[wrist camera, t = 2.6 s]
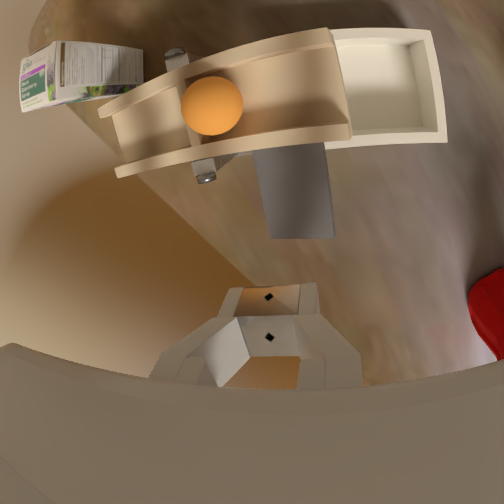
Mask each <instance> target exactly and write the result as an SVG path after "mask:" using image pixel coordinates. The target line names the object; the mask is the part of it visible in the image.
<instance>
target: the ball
mask: <svg viewBox="0 0 504 504" xmlns="http://www.w3.org/2000/svg"><path fill="white" fill-rule="evenodd" d="M242 111H243V98H242V95H241V93H240V91H239V90H238V88H237V87H236V86H235V85H234V84H233V83H232V82H230V81H229V80H227V79H224V78H221V77H214V76H212V77H205V78H202V79H199V80H197V81H195V82H194V83H193V84H191V85H190V86H189V87H188V88H187V90H186V91H185V93H184V95H183V97H182V100H181V114H182V117H183V119H184V121H185V123H186V124H187V125H188V126H189V127H190V128H191V129H192V130H194V131H196V132H198V133H200V134H203V135H218V134H222V133H224V132H226V131H228V130H230V129H231V128H232V127H234V126H235V124H236V123H237V122H238V121H239V119H240V117H241V115H242Z"/></svg>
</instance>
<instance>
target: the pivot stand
mask: <svg viewBox="0 0 504 504" xmlns="http://www.w3.org/2000/svg"><path fill="white" fill-rule="evenodd" d="M164 54H165V58H166V61H165V64H166V68H167V72H170V71H172V70H175V69H177V68H179V67H182V66H184V65H187V64H189V63H192V62H195V61H197V60H200V59H202V58H203V57H200V56H197V55H193V54H190V53H185V50H184V47H177V48H172V49H170V50H167V51H166V52H165V53H164ZM249 154H252V150H251V151H244V152H238V153H231V154H225V155H220V156H214V157H209V158H203V159H198V160H194V161H193V162H191V165H192V168H193V172H194V175H195V176H196V178H197V181H198V184H203V183H208V182H211V181H213V180H215V179H216V174H215V172H217V171H218V170H219V169H220V168H221V167H223V166H224V165H225V164H226V163H228V162H229V161H230V160H231V159H232V158H234V157H238V156H243V155H249Z"/></svg>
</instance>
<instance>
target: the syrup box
mask: <svg viewBox="0 0 504 504" xmlns="http://www.w3.org/2000/svg"><path fill="white" fill-rule="evenodd" d="M142 84H144V79H143V50H142V49H137V48H131V47H125V46H118V45H111V44H102V43H93V42H82V41H63V40H57V41H54V42H53V43H51V44H49V45H46V46H44V47H42V48H40V49H38V50H36V51H34V52H33V53H31V54H29V55H28V56H26V57H24V58H23V59H22V61H21V68H20V80H19V92H20V104H21V109H22V112H27V111H31V110H36V109H40V108H45V107H50V106H56V105H62V104H68V103H75V102H82V101H88V100H96V99H102V98H110V97H116V96H121V95H123V94H125V93H126V92H128V91H130V90H132V89H134V88H136V87H138V86H140V85H142Z"/></svg>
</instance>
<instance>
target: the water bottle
mask: <svg viewBox="0 0 504 504" xmlns="http://www.w3.org/2000/svg"><path fill="white" fill-rule="evenodd" d="M468 306H469V312H470V317H471V320H472V323H473V325H474V327H475V329H476V331H477V333H478V335H479V336H480V337H481V338H482V340H483V341H484V342H485V343H486V345H487V346H488V347H489V348H490V350H491V351H492V352H493V354H494V355H495V356H496V358H497V361H499V360H503V359H504V268H501V269H497V270H495V271H494V272H492V273H491V274H490V275H489V276H486V277H484V278H481V279H480V280H479V281H478V282H477V283H475V285H474V286H473V287H472V289H471V291H470V292H469V297H468Z"/></svg>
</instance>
